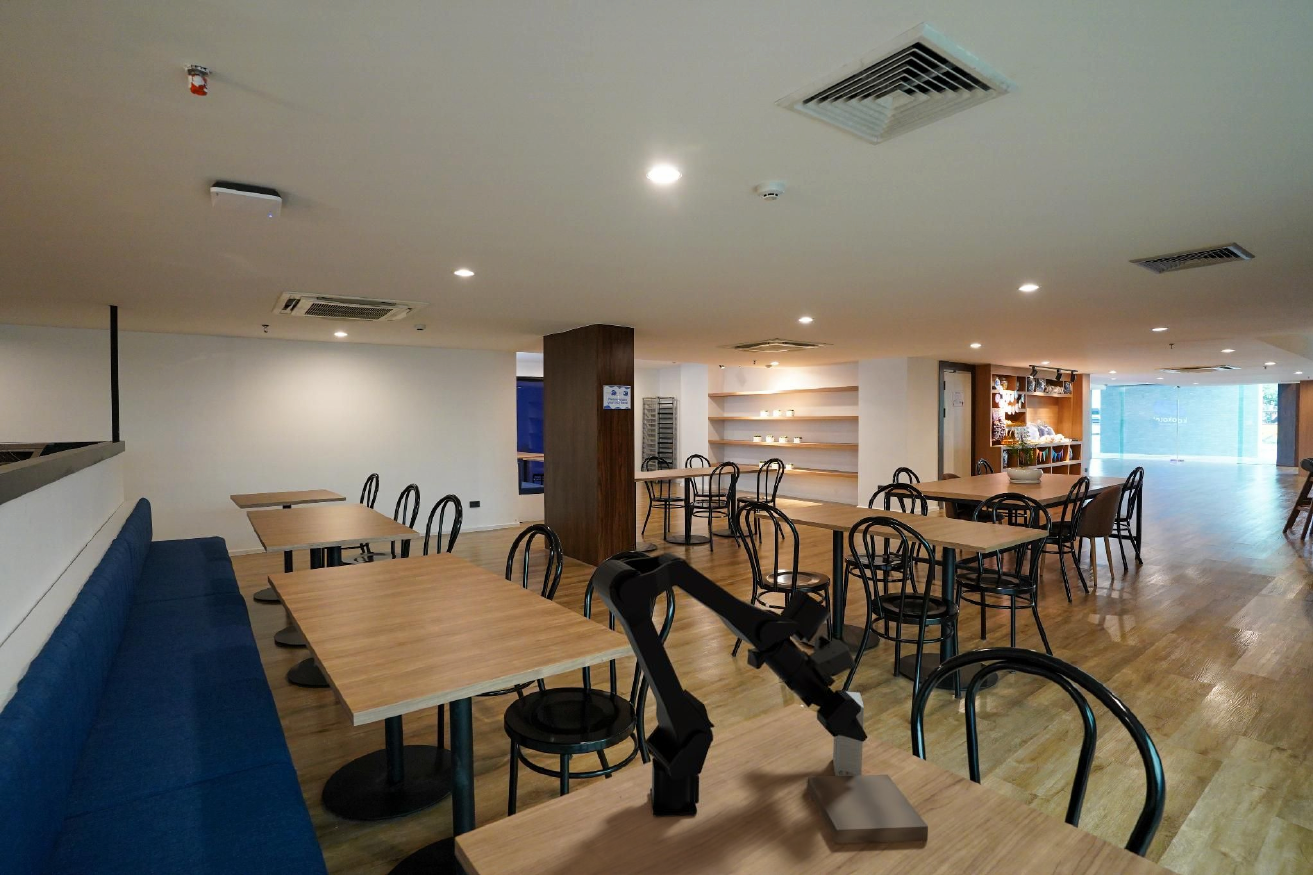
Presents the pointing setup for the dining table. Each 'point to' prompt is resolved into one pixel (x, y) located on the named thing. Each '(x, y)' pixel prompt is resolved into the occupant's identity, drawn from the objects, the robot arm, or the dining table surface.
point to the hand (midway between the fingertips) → (851, 725)
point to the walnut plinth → (866, 809)
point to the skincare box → (849, 748)
